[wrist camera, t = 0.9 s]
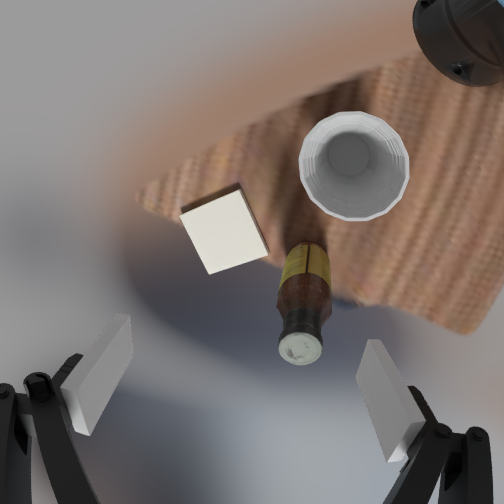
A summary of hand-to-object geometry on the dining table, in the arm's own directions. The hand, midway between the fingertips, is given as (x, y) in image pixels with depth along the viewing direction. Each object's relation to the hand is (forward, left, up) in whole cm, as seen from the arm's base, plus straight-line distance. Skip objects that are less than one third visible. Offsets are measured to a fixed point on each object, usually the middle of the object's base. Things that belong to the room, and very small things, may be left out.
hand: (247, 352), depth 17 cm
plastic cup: (-9, -4, -30) cm, 31 cm away
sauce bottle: (+1, +8, -30) cm, 31 cm away
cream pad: (+11, 0, -29) cm, 32 cm away
